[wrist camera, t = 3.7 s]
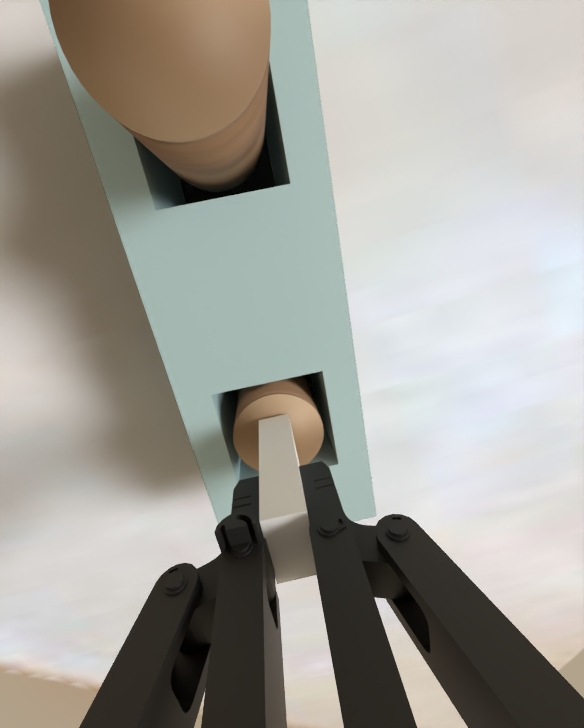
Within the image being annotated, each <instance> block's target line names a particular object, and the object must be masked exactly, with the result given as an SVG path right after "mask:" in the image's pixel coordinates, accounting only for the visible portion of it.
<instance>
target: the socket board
mask: <svg viewBox="0 0 584 728" xmlns="http://www.w3.org/2000/svg"><path fill="white" fill-rule="evenodd" d="M40 3H41V6H42V9H43V12H44V15H45V18H46V21H47V24H48V27H49V30H50V33H51V36H52V38H53V41H54V44H55V47H56V50H57V53H58V56H59V59H60V62H61V65H62V68H63V71H64V74H65V77H66V79H67V82H68V85H69V88H70V91H71V94H72V97H73V100H74V103H75V106H76V109H77V112H78V115H79V118H80V120H81V123H82V126H83V129H84V132H85V135H86V138H87V141H88V144H89V147H90V150H91V153H92V156H93V159H94V161H95V164H96V167H97V170H98V173H99V176H100V179H101V182H102V185H103V188H104V191H105V194H106V197H107V200H108V202H109V205H110V208H111V211H112V214H113V217H114V220H115V223H116V226H117V229H118V232H119V235H120V238H121V241H122V243H123V246H124V249H125V252H126V255H127V258H128V261H129V264H130V267H131V270H132V273H133V276H134V279H135V281H136V284H137V287H138V290H139V293H140V296H141V299H142V302H143V305H144V308H145V311H146V314H147V317H148V320H149V322H150V325H151V328H152V331H153V334H154V337H155V340H156V343H157V346H158V349H159V352H160V355H161V358H162V361H163V363H164V366H165V369H166V372H167V375H168V378H169V381H170V384H171V387H172V390H173V393H174V396H175V399H176V402H177V404H178V407H179V410H180V413H181V416H182V419H183V422H184V425H185V428H186V431H187V434H188V437H189V440H190V443H191V445H192V448H193V451H194V454H195V457H196V460H197V463H198V466H199V469H200V472H201V475H202V478H203V481H204V484H205V486H206V489H207V492H208V495H209V498H210V501H211V504H212V507H213V510H214V513H215V516H216V519H217V522H218V524H219V523H220V522H221V521H222V520H223V519H224V518H226V517H227V516H228V515H231V509H232V501H233V500H232V499H233V490H234V488H235V486H236V485H237V483H238V481H239V480H243V479H247V478H252V477H256V476H259V471H257V470H255V469H253V468H252V467H250V466H249V465H247V464H246V463H245V462H244V461H243V460H242V459H241V458H240V456H239V455H238V453H237V451H236V449H235V446H234V441H233V431H234V423H235V416H236V408H237V400H238V393H237V389H241V388H246V387H250V386H255V385H260V384H264V383H269V382H274V381H278V380H283V379H288V378H292V377H297V376H302V375H306V374H310V376H311V382H312V387H313V392H314V398H315V404H316V407H317V410H318V412H319V415H320V418H321V420H322V424H323V429H324V437H323V442H322V445H321V448H320V450H319V452H318V453H317V454H316V456H315V457H314V458H313V459H312V460H311V461H310V462H309V463H308V464H311V463H315V462H320V461H322V462H324V463H325V464H326V465H327V466H328V467H329V468H330V471H331V474H332V478H333V480H334V484H335V487H336V490H337V493H338V496H339V499H340V502H341V505H342V508H343V511H344V513H345V515H346V516H347V517H348V518H349V519H350V520H351V521H353V522H354V521H358V520H362V519H367V518H371V517H375V516H376V509H375V502H374V494H373V487H372V480H371V472H370V465H369V457H368V450H367V442H366V435H365V427H364V420H363V412H362V405H361V397H360V390H359V382H358V375H357V367H356V360H355V353H354V345H353V338H352V330H351V323H350V315H349V308H348V300H347V293H346V285H345V278H344V270H343V263H342V255H341V248H340V241H339V233H338V226H337V218H336V211H335V203H334V196H333V188H332V181H331V173H330V166H329V158H328V151H327V143H326V136H325V128H324V121H323V114H322V106H321V99H320V91H319V84H318V76H317V69H316V61H315V54H314V46H313V39H312V31H311V24H310V16H309V9H308V2H307V0H269V4H270V12H271V38H270V54H269V70H268V86H267V102H266V118H265V134H266V139H267V144H268V150H269V155H270V161H271V166H272V171H273V177H274V182H275V187H271V188H266V189H261V190H256V191H251V192H246V193H241V194H236V195H231V196H226V197H221V198H216V199H211V200H206V201H201V202H196V203H191V204H186V201H185V197H184V193H183V190H182V186H181V182H180V178H179V176H178V175H177V174H176V173H174V172H173V171H172V170H171V169H170V168H169V167H168V166H167V165H166V164H164V163H163V162H162V161H161V160H160V159H159V158H158V157H157V156H156V155H154V154H153V153H152V152H151V151H150V150H149V149H148V148H147V147H145V146H144V145H143V144H142V143H141V142H140V141H139V140H138V139H137V138H135V137H134V136H133V135H132V134H131V133H130V132H129V131H128V130H126V129H125V128H124V127H123V126H122V125H121V124H120V123H119V122H118V121H116V120H115V119H114V118H113V117H112V116H111V115H110V114H109V113H107V112H106V111H105V110H104V109H103V108H102V107H101V106H100V105H99V104H98V103H97V102H96V101H95V100H94V99H93V98H92V97H91V96H90V94H89V93H88V92H87V91H86V89H85V88H84V87H83V86H82V84H81V83H80V81H79V80H78V78H77V77H76V75H75V74H74V72H73V71H72V69H71V67H70V65H69V63H68V61H67V59H66V57H65V55H64V53H63V51H62V49H61V46H60V44H59V41H58V39H57V36H56V33H55V29H54V26H53V22H52V19H51V14H50V8H49V2H48V0H40Z"/></svg>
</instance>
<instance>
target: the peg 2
mask: <svg viewBox="0 0 584 728" xmlns="http://www.w3.org/2000/svg"><path fill="white" fill-rule="evenodd" d="M285 414H289V419H290V423H291V428H292V432H293V437H294V442H295V446H296V451H297V455H298V460H299V465H300V466H302V465H306V464H308V463H309V462H310V461H311V460H312V459H313V458H314V457H315V456H316V454H317V453H318V452H319V450H320V448H321V445H322V442H323V437H324V429H323V424H322V420H321V418H320V415H319V412H318V410H317V407H316V404H315V401H314V399H313V396H312V393H311V391H310V388H309V385H308V382H307V380H306V377H305V375H302V376H297V377H292V378H288V379H283V380H278V381H274V382H269V383H264V384H260V385H255V386H250V387H246V388H241V389H239V393H238V400H237V408H236V416H235V423H234V431H233V441H234V446H235V449H236V451H237V453H238V455H239V456H240V458H241V459H242V460H243V461H244V462H245V463H246V464H247V465H249V466H250V467H252V468H253V469H255V470H257V471H259V420H262V419H267V418H271V417H276V416H280V415H285Z"/></svg>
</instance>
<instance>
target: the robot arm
mask: <svg viewBox="0 0 584 728" xmlns="http://www.w3.org/2000/svg"><path fill="white" fill-rule="evenodd" d="M232 500H233V501H232V509H231V515H228V516H227V517H226V518H224V519H223V520H222V521H221V522H220V523H219V524H218V525H217V527H216V530H215V535H216V538H217V541H218V544H219V547H220V550H221V554H220V555H219V556H218V557H217V558H216V559H214V560H212V561H211V562H209V563H207V564H205V565H204V566H202V567H200V568H198V569H196V568H195V567H194V566H193V565H192V564H188V563H182V564H177V565H175V566H173V567H171V568H169V569H168V570H167V571H166V572H165V573H163V574H162V575H161V576H160V578H159V579H158V581H157V582H156V584H155V585H154V587H153V589H152V591H151V593H150V595H149V597H148V599H147V601H146V602H145V604H144V606H143V608H142V610H141V612H140V614H139V616H138V618H137V619H136V621H135V623H134V625H133V627H132V629H131V631H130V633H129V635H128V636H127V638H126V640H125V642H124V644H123V646H122V648H121V650H120V652H119V653H118V655H117V657H116V659H115V661H114V663H113V665H112V667H111V669H110V670H109V672H108V674H107V676H106V678H105V680H104V682H103V684H102V686H101V687H100V689H99V691H98V693H97V695H96V697H95V699H94V701H93V703H92V705H91V707H90V708H89V710H88V712H87V714H86V716H85V718H84V720H83V722H82V723H81V725H80V727H79V728H194V725H195V722H196V719H197V715H198V712H199V709H200V705H201V702H202V698H203V695H204V692H205V699H204V707H203V716H202V725H201V728H287V722H286V706H285V690H284V674H283V658H282V643H281V627H280V611H279V599H278V595H277V592H276V587H275V578H276V581H277V584H278V583H283V582H287V581H291V580H296V579H300V578H304V577H309V576H313V575H317V579H318V584H319V590H320V595H321V601H322V607H323V612H324V618H325V623H326V629H327V635H328V640H329V646H330V651H331V657H332V663H333V668H334V674H335V679H336V685H337V690H338V696H339V702H340V707H341V713H342V718H343V724H344V728H417V726H416V723H415V720H414V717H413V714H412V711H411V708H410V705H409V702H408V699H407V695H406V692H405V689H404V686H403V683H402V680H401V677H400V674H399V671H398V668H397V665H396V662H395V659H394V656H393V653H392V650H391V647H390V644H389V641H388V638H387V635H386V632H385V629H384V626H383V623H382V620H381V617H380V614H379V611H378V608H377V605H376V602H375V599H374V597H377V598H386V600H387V602H388V603H389V605H390V607H391V608H392V610H393V611H394V613H395V614H396V616H397V617H398V619H399V621H400V622H401V624H402V625H403V627H404V628H405V630H406V631H407V633H408V635H409V636H410V638H411V639H412V641H413V642H414V644H415V645H416V647H417V649H418V650H419V652H420V653H421V655H422V656H423V658H424V660H425V661H426V663H427V664H428V666H429V667H430V669H431V670H432V672H433V674H434V675H435V677H436V678H437V680H438V681H439V683H440V684H441V686H442V688H443V689H444V691H445V692H446V694H447V695H448V697H449V698H450V700H451V702H452V703H453V705H454V706H455V708H456V709H457V711H458V712H459V714H460V716H461V717H462V719H463V720H464V722H465V723H466V725H467V726H468V728H584V698H583V697H582V696H581V695H580V694H579V693H578V692H577V691H576V690H575V689H574V688H573V687H572V686H571V685H570V684H569V683H568V681H567V680H566V679H565V678H564V677H563V676H562V675H561V674H560V673H559V672H558V671H557V670H556V669H555V668H554V667H553V666H552V665H551V664H550V663H549V662H548V660H547V659H546V658H545V657H544V656H543V655H542V654H541V653H540V652H539V651H538V650H537V649H536V648H535V647H534V646H533V645H532V644H531V643H530V642H529V641H528V639H527V638H526V637H525V636H524V635H523V634H522V633H521V632H520V631H519V630H518V629H517V628H516V627H515V626H514V625H513V624H512V623H511V622H510V621H509V620H508V618H507V617H506V616H505V615H504V614H503V613H502V612H501V611H500V610H499V609H498V608H497V607H496V606H495V605H494V604H493V603H492V602H491V601H490V600H489V599H488V597H487V596H486V595H485V594H484V593H483V592H482V591H481V590H480V589H479V588H478V587H477V586H476V585H475V584H474V583H473V582H472V581H471V580H470V579H469V578H468V576H467V575H466V574H465V573H464V572H463V571H462V570H461V569H460V568H459V567H458V566H457V565H456V564H455V563H454V562H453V561H452V560H451V559H450V558H449V557H448V555H447V554H446V553H445V552H444V551H443V550H442V549H441V548H440V547H439V546H438V545H437V544H436V543H435V542H434V541H433V540H432V539H431V538H430V537H429V536H428V534H427V533H426V532H425V531H424V530H423V529H422V528H421V527H420V526H419V525H418V524H417V523H416V522H415V521H414V520H412V519H411V518H409V517H407V516H404V515H400V514H391V515H388V516H385V517H383V518H382V519H380V520H379V521H378V523H377V525H376V526H367V525H360V524H357V523H354V522H353V521H351V520H350V519H349V518H348V517H347V516H346V515H345V513H344V511H343V508H342V505H341V502H340V499H339V496H338V493H337V490H336V487H335V484H334V480H333V478H332V474H331V471H330V468H329V467H328V466H327V465H326V464H325V463H324V462H322V461H320V462H315V463H311V464H306V465H302V466H300V465H299V460H298V455H297V451H296V446H295V442H294V437H293V432H292V428H291V423H290V419H289V414H285V415H280V416H276V417H271V418H267V419H262V420H259V476H256V477H252V478H247V479H243V480H239V481H238V483H237V485H236V486H235V488H234V490H233V499H232ZM205 688H206V690H205Z"/></svg>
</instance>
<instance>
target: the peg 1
mask: <svg viewBox="0 0 584 728" xmlns="http://www.w3.org/2000/svg"><path fill="white" fill-rule="evenodd" d="M48 2H49V8H50V14H51V19H52V22H53V26H54V29H55V33H56V36H57V39H58V41H59V44H60V46H61V49H62V51H63V53H64V55H65V57H66V59H67V61H68V63H69V65H70V67H71V69H72V71H73V72H74V74H75V75H76V77H77V78H78V80H79V81H80V83H81V84H82V86H83V87H84V88H85V89H86V91H87V92H88V93H89V94H90V96H91V97H92V98H93V99H94V100H95V101H96V102H97V103H98V104H99V105H100V106H101V107H102V108H103V109H104V110H105V111H106V112H107V113H109V114H110V115H111V116H112V117H113V118H114V119H115V120H116V121H118V122H119V123H120V124H121V125H122V126H123V127H124V128H125V129H126V130H128V131H129V132H130V133H131V134H132V135H133V136H134V137H135V138H137V139H138V140H139V141H140V142H141V143H142V144H143V145H144V146H145V147H147V148H148V149H149V150H150V151H151V152H152V153H153V154H154V155H156V156H157V157H158V158H159V159H160V160H161V161H162V162H163V163H164V164H166V165H167V166H168V167H169V168H170V169H171V170H172V171H173V172H174V173H176V174H177V175H178V176H179V177H180V178H181V179H183V180H184V181H185V182H187V183H188V184H190V185H191V186H193V187H196V188H198V189H201V190H204V191H210V192H222V191H227V190H231V189H233V188H235V187H237V186H239V185H241V184H242V183H244V182H245V181H246V180H247V179H248V178H249V177H250V176H251V175H252V173H253V172H254V170H255V169H256V167H257V165H258V163H259V161H260V158H261V155H262V151H263V147H264V135H265V118H266V102H267V86H268V70H269V54H270V38H271V12H270V4H269V0H48Z"/></svg>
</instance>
